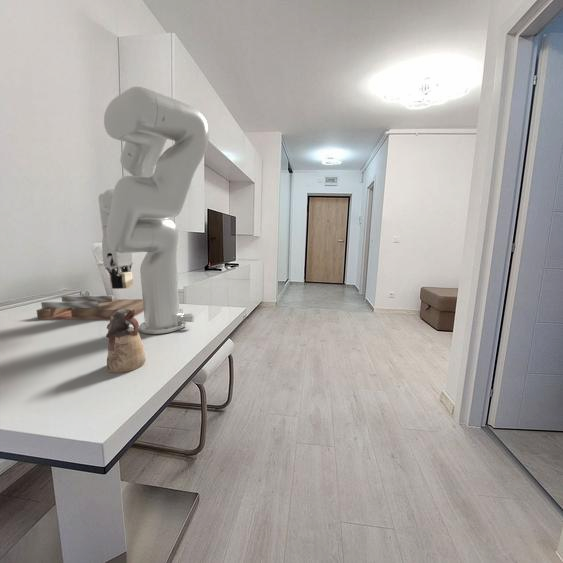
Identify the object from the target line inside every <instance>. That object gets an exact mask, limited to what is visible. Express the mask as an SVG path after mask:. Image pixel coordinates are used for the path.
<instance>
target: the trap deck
mask: <svg viewBox="0 0 563 563" xmlns="http://www.w3.org/2000/svg"><path fill="white" fill-rule="evenodd" d="M114 298H115V297H114V295H61V301H42V302H41V303H40V304H41V308H39V309H36V317H37V320H79V319H80V320H92V319H93V320H94V319H95V320H97V319H98V320H100V319H102V320H103V319H109V320H110V318H111V316H112V315H113V314H114V313H115V312H116V311H118V310H121V309H124V310H126V312H127V313H128V312H129V311H130V310H131V309H133V310H135V312H136V313H135V314H134V316H133V318H135V317H136V316H138V315H139V314H142V313H144V307H143V298H141V299H139V298H136V299H135V298H134V299H133V298H130V299H129V298H128V299H123V298H122V299H119V298H117V299H114Z"/></svg>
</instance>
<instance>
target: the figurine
mask: <svg viewBox="0 0 563 563" xmlns="http://www.w3.org/2000/svg"><path fill="white" fill-rule="evenodd" d="M135 313H136V312H135V310H133V309H131V310H130V311H129V312H128V313H127V312H126V310H124V309H121V310H118V311H116V312H115V313H114V314H113V315H112V316H111V318H110V319H109V323H108V324H107V325H106V329H107V333H106V335H105V337H106V338H108V343H107V358H106V367H107V371H108V372H109V373H113V374H121V373H127V372H131V371H134V370H137V369H139V368H141V367H143V366H144V365H145V363H146V361H147V357H146V356H147V355H146V351H145V347H144V343H143V341H142V339H141V335H140V333H139V330H140V329H139V326H140V325H139V322H138V319H136V318H135V316H134V314H135ZM133 316H134V317H133ZM130 325H132V327H131V326H130Z"/></svg>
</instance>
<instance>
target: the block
mask: <svg viewBox="0 0 563 563" xmlns="http://www.w3.org/2000/svg"><path fill="white" fill-rule="evenodd" d="M108 274H109V275H108V276H109V282H110V289H111V290H119V289H120V290H121V289H129V288H132V287H134V277H133V271H131V272H121V271H120V276H122V285H123V288H112V282H111V277H110V273H108Z"/></svg>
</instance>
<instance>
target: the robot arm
mask: <svg viewBox="0 0 563 563" xmlns="http://www.w3.org/2000/svg"><path fill="white" fill-rule="evenodd" d="M103 117H104V118H103V124H104V125H103V126H104V129H105V132H106V134H107V135H108V136H109V137H110V138H112V139H114V140H117V141H121V142H125V144H124V146H123V149H122V152H121V155H120V158H119V162H120V164H121V166H122V168H123V169H124V170H125V171H126V172H127V173H129V174H130V175H125V176H122V177H121V178H120V179H119V180H118V181H117V182H116V184H115V186H114V189H113V188H112V189H111V188H110V189H106V190H105V191H104V192H103V193H100V194H99V195H98V204H99V213H100V221H101V229H102V230H101V231H102V241H101V250H102V252H101V254H102V264H103V266H104V269H105V270H106V271H107V272H108V274H110V276H109V278H110V277H111V282H112V288H123V285H122V276H120V272H132V266H133V263H134V262H133V254H134V253H146V254H145V255H144V257H143V259H142V261H141V263H140V267H139V268H140V269H139V270H140V272H139V274H140V283H141V284H140V285H141V292H142V293H141V294H142V299H143V307H144V311H143V315H144V316H143V317H144V322H142V323H140V325H139V329H138V330H139V331H140V332H141V333H144V334H147V335H157V334H158V335H159V334H160V335H161V334H166V333H167V334H168V333H173V332H177V331H179V330H181V329H183V328H184V327H186V325H187V323H193V322H195V315H194V314H192V313H184V310H183V308H182V309H181V308H180V299H179V298H180V297H179V295H180V294H179V285H178V282H179V281H178V268H177V266H178V265H177V250H178V242H179V229H178V227H177V225H176V223H175V222H174V221H173V220H172V219H174V218H176V217H178V216H179V215H180V213H181V212H182V210H183V208H184V204H185V202H186V199H187V196H188V193H189V190H190V188H191V187H190V186H191V184H192V182H193V177H194V176H195V173H196V171H197V169H198V167H199V165H200V164H201V161H202V160H203V158H204V156H205V155H206V152H207V149H208V145H209V140H210V139H209V138H210V135H209V134H210V131H209V127H208V121H207V120H206V117H204V115H203V114H202V113H201V112H200V111H199V110H198V109H197V108H195V107H193V106H192V105H189V104H187V103H186V102H184V101H183V102H182V101H180V100H177V99H175V98H173V97H169V96H167V95H164V94H162V93H159V92H156V91H154V90H152V89H148V88H147V87H143V86H131V87H129V88H128V89H126V90H125V91H123V92H122V93H121V94H118V95H117V96H115V97H114V98H113V99H111V101H110V102H109V103H108V105H107V107H106V108H105V111H104V116H103ZM167 140H170V141H174V143H173V145H170V146H169V147H167V149H165V151H163V150H164V148H165V145H166V143H167ZM162 152H163V153H162ZM132 253H133V254H132Z"/></svg>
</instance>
